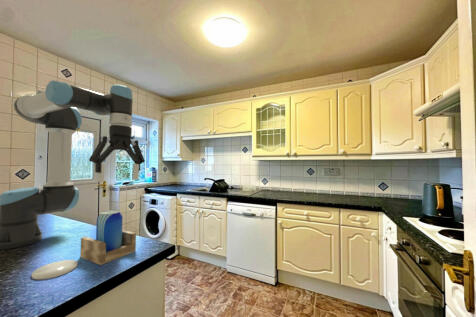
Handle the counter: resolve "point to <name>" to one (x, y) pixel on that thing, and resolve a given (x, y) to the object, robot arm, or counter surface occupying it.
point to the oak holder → (97, 249)
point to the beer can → (110, 229)
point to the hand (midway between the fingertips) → (119, 180)
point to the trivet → (54, 269)
